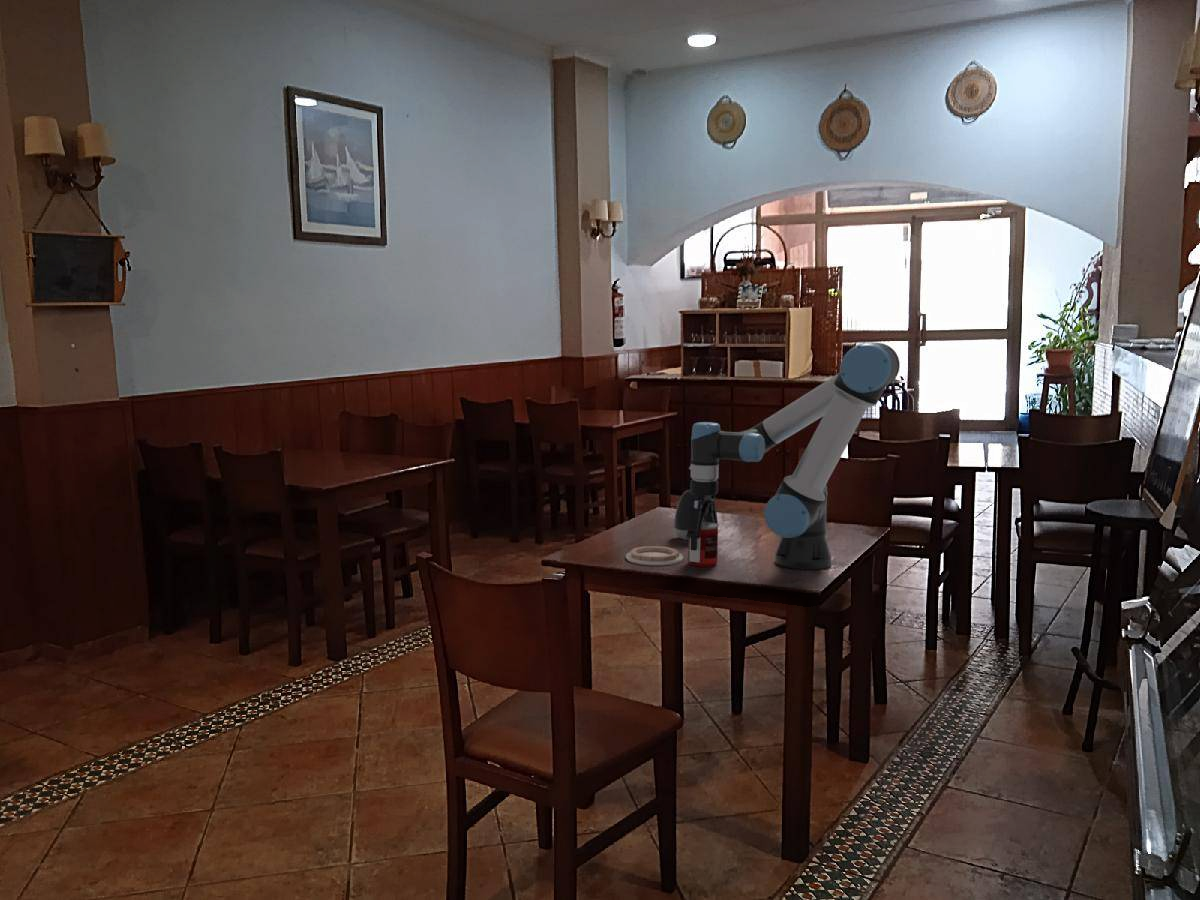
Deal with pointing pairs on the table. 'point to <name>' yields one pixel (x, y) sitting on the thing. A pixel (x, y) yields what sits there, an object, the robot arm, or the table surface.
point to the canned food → (707, 545)
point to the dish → (654, 556)
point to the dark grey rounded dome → (683, 514)
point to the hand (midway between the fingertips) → (702, 556)
